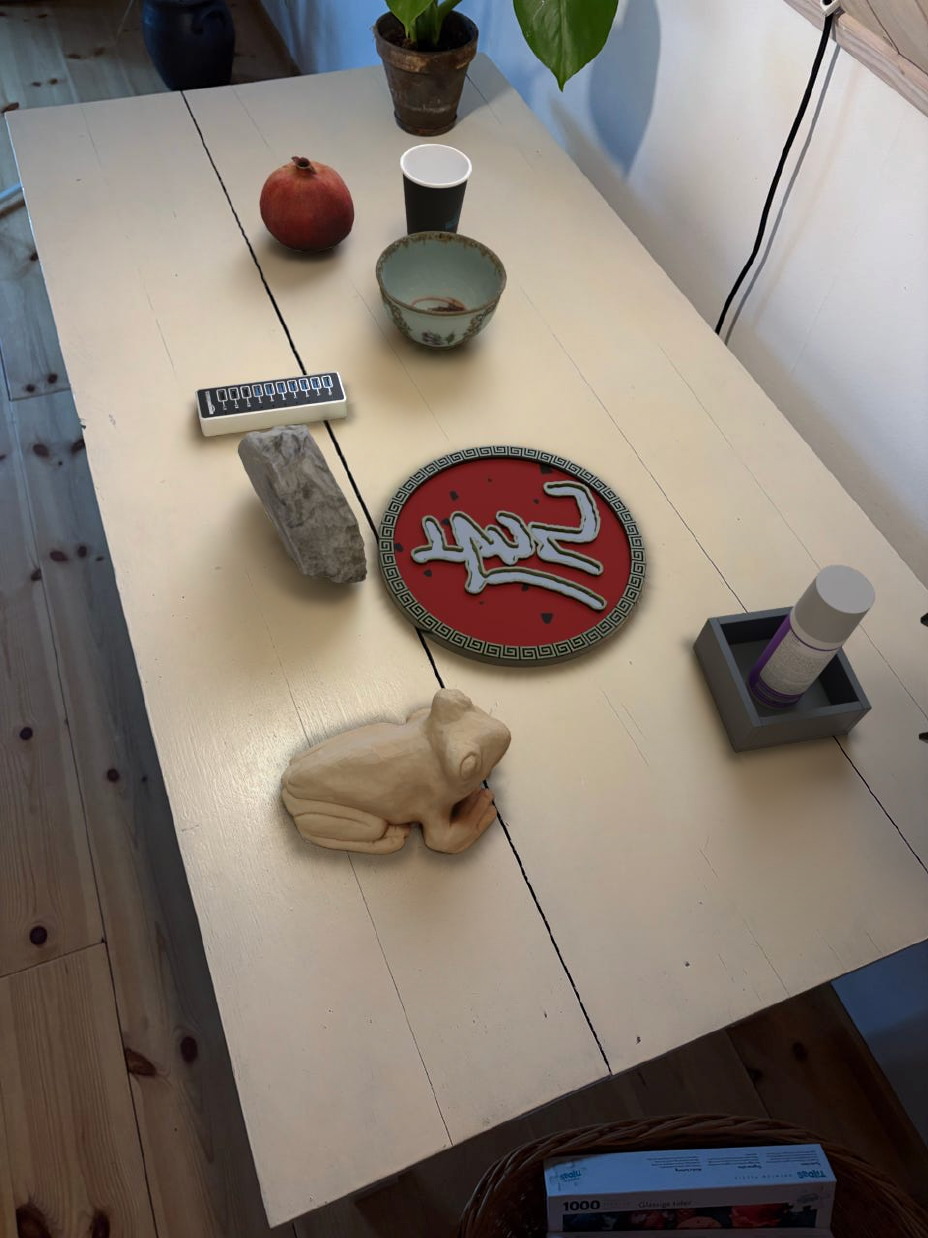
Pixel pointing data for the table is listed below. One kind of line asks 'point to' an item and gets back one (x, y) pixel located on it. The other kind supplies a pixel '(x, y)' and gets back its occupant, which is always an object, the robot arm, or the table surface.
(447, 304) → the bowl
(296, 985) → the table surface
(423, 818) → the figurine
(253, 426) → the multiport hub
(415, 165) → the dixie cup
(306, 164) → the fruit
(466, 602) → the decorative plate
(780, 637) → the container
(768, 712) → the storage bin
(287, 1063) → the table surface
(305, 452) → the decorative rock
